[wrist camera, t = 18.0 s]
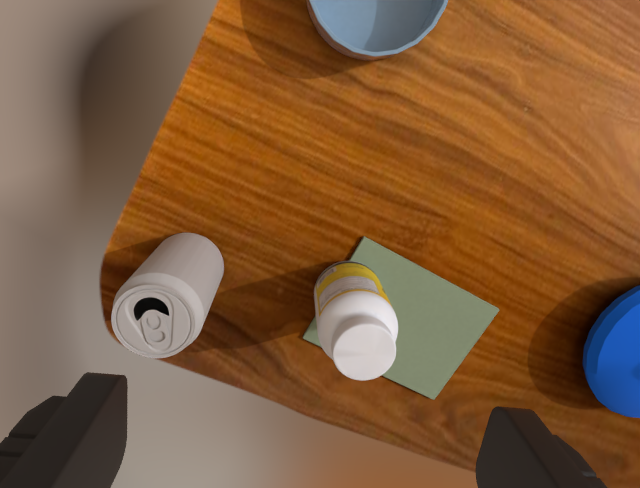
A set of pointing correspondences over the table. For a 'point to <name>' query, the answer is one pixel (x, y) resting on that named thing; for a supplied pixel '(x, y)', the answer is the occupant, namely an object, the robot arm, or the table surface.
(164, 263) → the beverage can
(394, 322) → the pill bottle
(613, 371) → the vase
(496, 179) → the table surface
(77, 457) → the robot arm
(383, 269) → the mat
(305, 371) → the table surface
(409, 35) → the grey-blue round dish
